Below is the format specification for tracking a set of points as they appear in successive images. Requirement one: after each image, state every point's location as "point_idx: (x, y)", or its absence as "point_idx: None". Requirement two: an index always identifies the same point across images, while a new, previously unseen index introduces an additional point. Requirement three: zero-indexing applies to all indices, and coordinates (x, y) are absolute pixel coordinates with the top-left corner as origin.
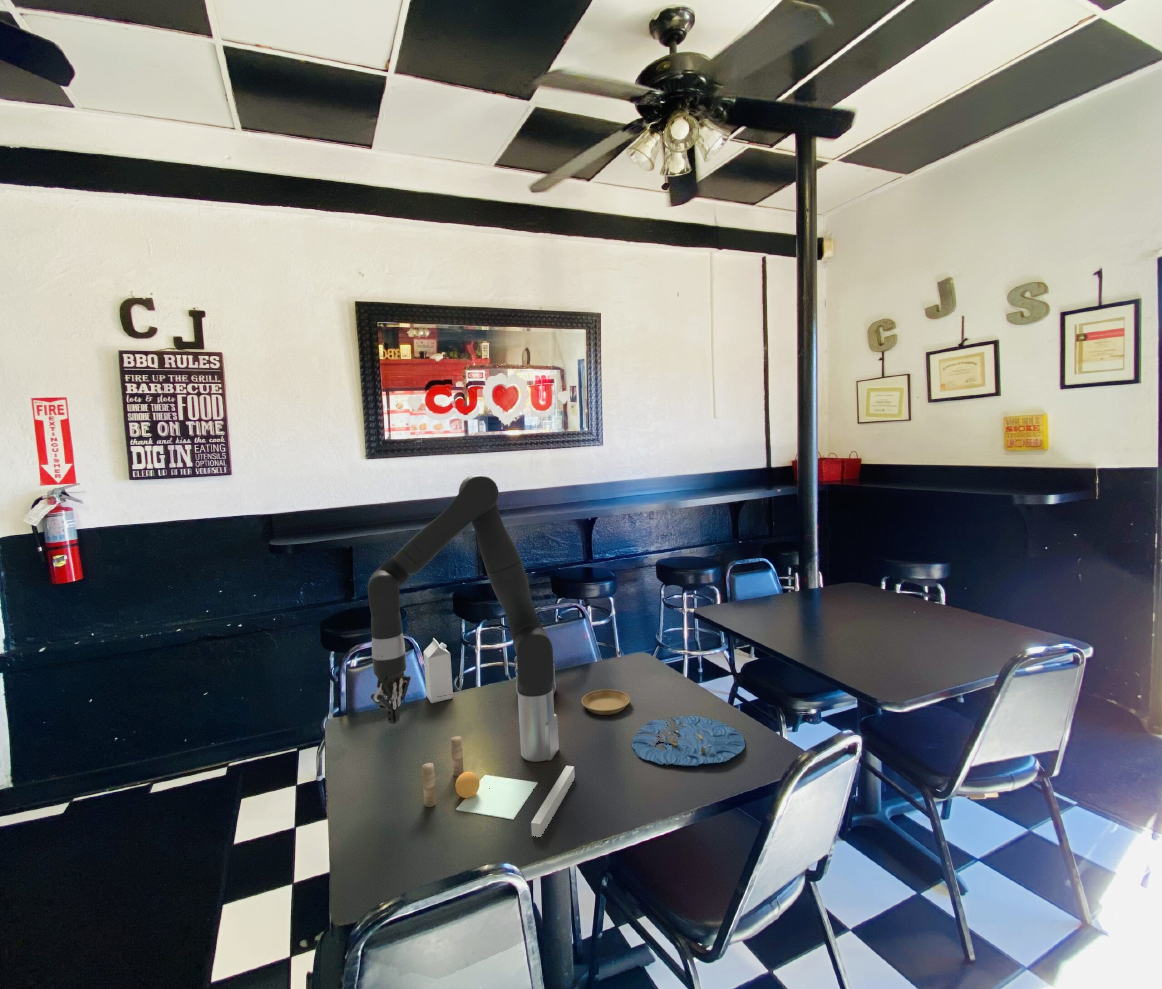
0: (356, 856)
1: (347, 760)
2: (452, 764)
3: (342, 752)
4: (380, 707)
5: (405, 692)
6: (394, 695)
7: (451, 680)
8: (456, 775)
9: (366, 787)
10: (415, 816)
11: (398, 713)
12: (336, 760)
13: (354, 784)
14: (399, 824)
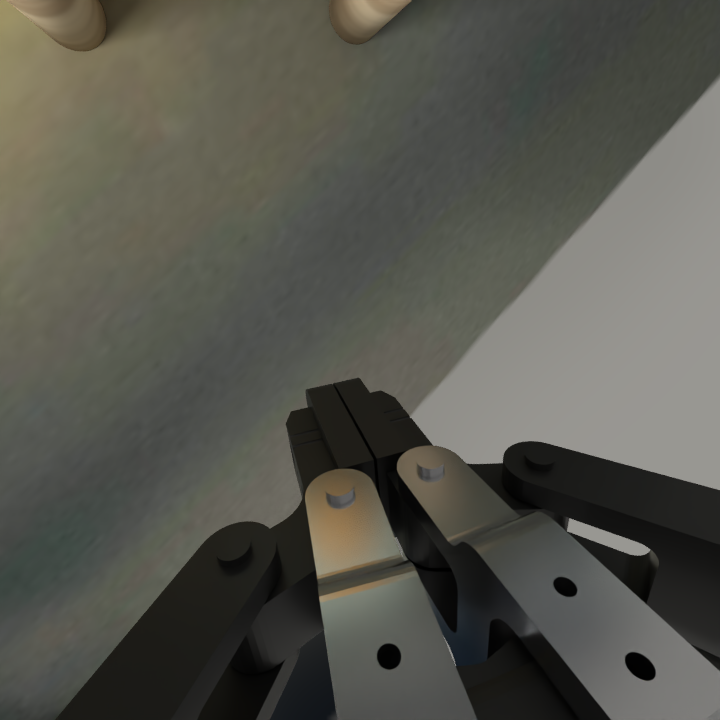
0: (637, 108)
1: None
2: (83, 22)
3: None
4: (579, 537)
5: (149, 647)
6: (589, 586)
7: None
8: (101, 5)
9: (351, 364)
10: (442, 30)
11: (332, 422)
12: None
13: None
14: (494, 69)
